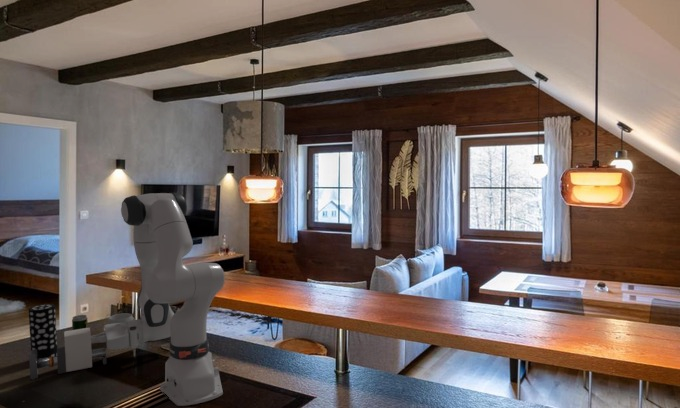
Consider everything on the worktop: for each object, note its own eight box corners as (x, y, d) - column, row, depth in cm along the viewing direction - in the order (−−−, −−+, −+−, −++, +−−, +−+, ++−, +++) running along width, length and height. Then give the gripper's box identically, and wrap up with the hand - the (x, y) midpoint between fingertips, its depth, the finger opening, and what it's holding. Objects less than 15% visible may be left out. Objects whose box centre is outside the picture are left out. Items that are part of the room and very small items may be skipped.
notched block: (91, 360, 171) (89, 327, 170) (92, 366, 165) (90, 332, 164) (66, 365, 167) (64, 331, 166) (66, 372, 161) (64, 336, 160)
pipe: (105, 360, 172) (104, 337, 172) (106, 364, 168) (105, 341, 168) (31, 374, 161) (30, 350, 160) (30, 379, 157) (29, 355, 156)
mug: (123, 344, 188) (122, 320, 187) (104, 343, 190) (103, 319, 189) (143, 334, 200) (142, 311, 200) (125, 332, 202) (124, 310, 202)
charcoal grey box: (66, 365, 167) (65, 346, 166) (66, 372, 161) (65, 352, 160) (58, 366, 166) (57, 347, 165) (58, 374, 160) (57, 354, 159)
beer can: (73, 349, 183) (72, 319, 183) (72, 345, 188) (71, 316, 187) (89, 346, 186) (87, 317, 186) (87, 342, 191) (86, 313, 190)
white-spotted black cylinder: (42, 365, 168) (39, 311, 167) (26, 362, 171) (22, 309, 169) (63, 357, 176) (60, 305, 175) (46, 354, 179) (43, 303, 177)
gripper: (129, 316, 183) (89, 322, 176) (135, 331, 165) (91, 339, 159) (129, 332, 184) (90, 339, 177) (136, 349, 166) (92, 357, 159)
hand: (90, 339), depth 167 cm, fingers closed, pressing on notched block
